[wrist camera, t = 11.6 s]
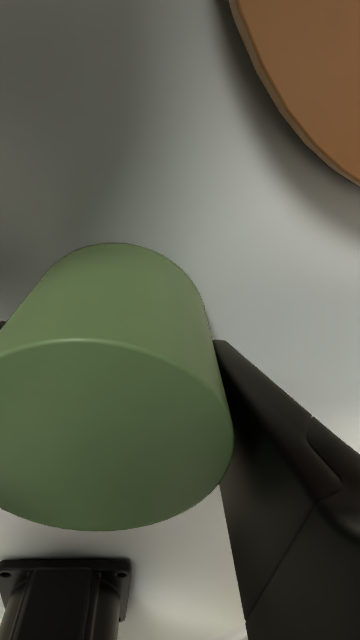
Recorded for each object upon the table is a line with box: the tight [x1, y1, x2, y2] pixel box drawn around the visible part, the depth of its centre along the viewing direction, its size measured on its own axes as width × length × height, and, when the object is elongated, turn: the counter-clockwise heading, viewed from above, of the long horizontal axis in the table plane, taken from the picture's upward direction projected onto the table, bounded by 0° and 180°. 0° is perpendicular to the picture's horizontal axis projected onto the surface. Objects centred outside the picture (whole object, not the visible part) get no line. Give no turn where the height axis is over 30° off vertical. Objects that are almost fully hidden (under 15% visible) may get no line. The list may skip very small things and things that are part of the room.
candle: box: [0, 243, 235, 531], centre depth 8 cm, size 5×5×4 cm
